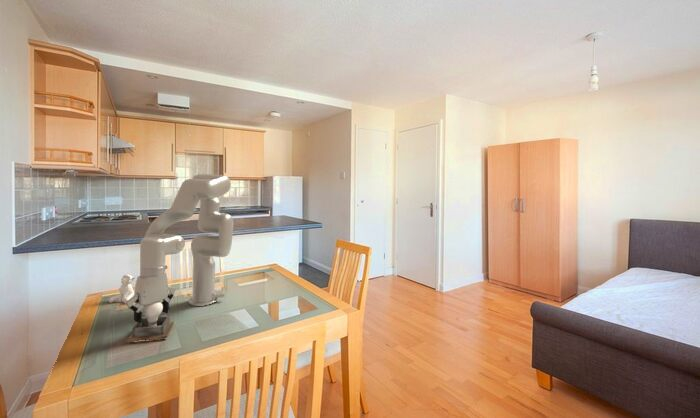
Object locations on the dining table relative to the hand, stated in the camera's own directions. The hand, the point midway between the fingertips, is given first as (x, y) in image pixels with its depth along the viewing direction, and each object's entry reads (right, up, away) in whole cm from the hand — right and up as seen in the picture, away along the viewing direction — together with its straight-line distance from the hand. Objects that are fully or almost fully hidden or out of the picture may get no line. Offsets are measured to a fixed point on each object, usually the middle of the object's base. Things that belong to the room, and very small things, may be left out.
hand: (152, 317), depth 114 cm
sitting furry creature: (-32, -3, +30) cm, 43 cm away
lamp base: (0, -6, 0) cm, 6 cm away
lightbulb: (0, -5, +1) cm, 5 cm away
